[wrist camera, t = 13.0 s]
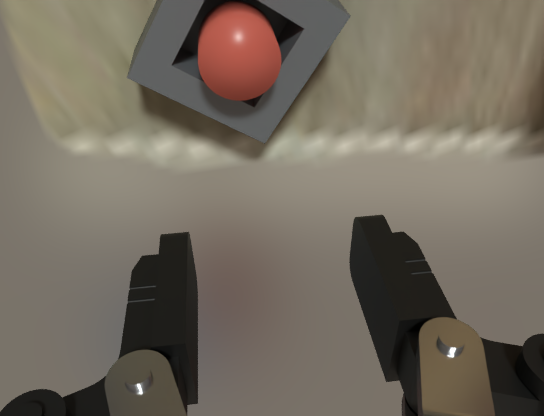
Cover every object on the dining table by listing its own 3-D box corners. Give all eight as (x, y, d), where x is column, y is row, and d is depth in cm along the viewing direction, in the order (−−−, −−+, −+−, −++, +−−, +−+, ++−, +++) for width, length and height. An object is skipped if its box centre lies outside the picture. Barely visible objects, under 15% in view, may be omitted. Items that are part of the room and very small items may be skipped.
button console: (333, -6, 28) (350, 15, 25) (258, 112, 32) (264, 143, 29) (200, -95, 25) (200, -82, 22) (134, 49, 29) (126, 77, 26)
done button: (288, 26, 26) (297, 46, 24) (249, 88, 28) (254, 113, 26) (220, -15, 25) (223, 3, 22) (184, 54, 26) (183, 77, 24)
